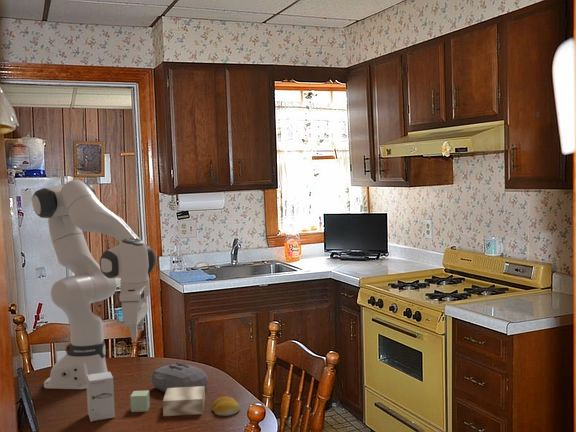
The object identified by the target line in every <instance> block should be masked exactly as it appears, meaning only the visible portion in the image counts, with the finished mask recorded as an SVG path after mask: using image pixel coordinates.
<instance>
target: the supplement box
mask: <svg viewBox="0 0 576 432" xmlns="http://www.w3.org/2000/svg"><path fill="white" fill-rule="evenodd" d="M86 383H87V388H86V398H87V399H86V401H87V402H86V404H87V415H88V417H89V421H90V422H91V423H92V422H94V421H100V420H108V419H114V418H115V417H116V412H115V411H116V410H115V409H116V408H115V407H116V406H115V389H114V386H115V385H114V376H113V375H112V372H111V371H108V372H104V373H97V374H89V375H86Z"/></svg>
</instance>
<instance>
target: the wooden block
mask: <svg viewBox="0 0 576 432" xmlns="http://www.w3.org/2000/svg"><path fill="white" fill-rule="evenodd" d="M162 399H163V400H162V416H163V417H172V416H188V415H189V416H192V415H204V410H205V408H204V407H205V403H206V390H205V386H197V387H178V388H167V390H166V393H165V392H164V396H163V398H162Z"/></svg>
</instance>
